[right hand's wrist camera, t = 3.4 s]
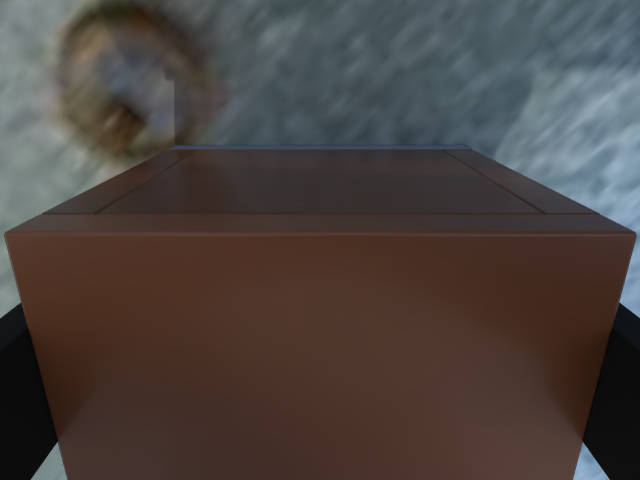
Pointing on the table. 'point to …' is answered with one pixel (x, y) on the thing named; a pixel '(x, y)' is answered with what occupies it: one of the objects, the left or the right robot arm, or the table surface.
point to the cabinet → (320, 316)
